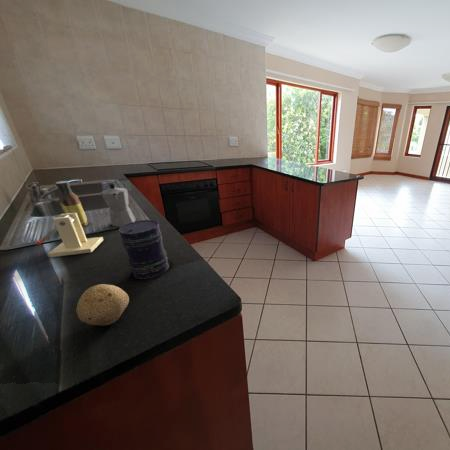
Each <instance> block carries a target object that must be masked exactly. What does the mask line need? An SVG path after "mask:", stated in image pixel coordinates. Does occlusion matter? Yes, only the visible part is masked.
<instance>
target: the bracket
mask: <svg viewBox="0 0 450 450" xmlns="http://www.w3.org/2000/svg"><path fill="white" fill-rule="evenodd" d="M67 215H70V216H71V217H73V218H74V219H75V220H74V221H72V219H71V217H65V216H67ZM59 216H60V217H53V218H52V221H53V223H54V225H55V227H56V228H57V232H58V234H59V237H60V239H61V241H62V242H61V243H60V244H58V245H57V246H55V247H54V248H53V249H52V250H51V251H49V252H48V253H47V255H48V257H49V258H56V257H65V256H74V255H82V254H89V253H93V252H94V251H95V250H96V249H97V248H98V246H100V244H102V242H104V236H99V237H97V236H96V237H88V238H87V236H86V233H85V231H84V227H82V225H81V223H80V220H79V218H78V215H77V213H66V214H64V213H61V214H59Z"/></svg>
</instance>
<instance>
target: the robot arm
mask: <svg viewBox="0 0 450 450" xmlns="http://www.w3.org/2000/svg"><path fill="white" fill-rule="evenodd" d="M3 150H4V144H3V141H2V140H1V139H0V151H3Z"/></svg>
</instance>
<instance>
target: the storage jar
mask: <svg viewBox="0 0 450 450" xmlns="http://www.w3.org/2000/svg"><path fill="white" fill-rule="evenodd" d="M118 232H119V234H120V239H121V242H122V245H123V247H124V249H125V251H126V253H127V256H128V263H129V267H130V270H131V271H132V274H133V277H134V278H136V279H139V280H147V279H148V280H149V279H152V278H155V277H158V276H160V275H163V274H164V273H166V272H167V270H168V269H169V267H170V264H169V262H168V260H169V259H168V255H167V251H166V249H165V248H164V244H163V235H162V230H161V229H160V224H159V222H158V221H156V220H153V219H145V220H144V219H143V220H135V222H132V223H129V224H126V225H124V226H120V227H119V229H118Z"/></svg>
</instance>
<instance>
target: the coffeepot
mask: <svg viewBox="0 0 450 450" xmlns="http://www.w3.org/2000/svg"><path fill="white" fill-rule="evenodd" d="M109 186H110V188H108V189H104V190H102V191H101V192H100V195H101V196H102V198H103V200H104V202H105V204H106V206H107V207H108V208H109V216H110V224H111V225H112V226H113V227H122V226H124V225H126V224H129V223H132V222H136V221H137V220H136V217H135V215H134V214H133V212H132V209H131V208H130V207H129V204H130V201H129V194H128V193H129V192H128V189H127V188H124V187H117V186H116V185H115V183H111V184H110V185H109Z"/></svg>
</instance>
